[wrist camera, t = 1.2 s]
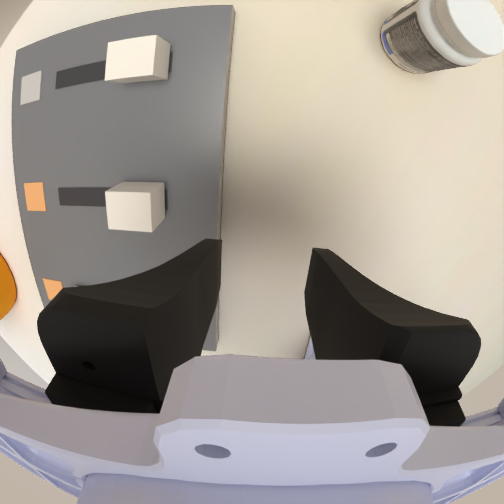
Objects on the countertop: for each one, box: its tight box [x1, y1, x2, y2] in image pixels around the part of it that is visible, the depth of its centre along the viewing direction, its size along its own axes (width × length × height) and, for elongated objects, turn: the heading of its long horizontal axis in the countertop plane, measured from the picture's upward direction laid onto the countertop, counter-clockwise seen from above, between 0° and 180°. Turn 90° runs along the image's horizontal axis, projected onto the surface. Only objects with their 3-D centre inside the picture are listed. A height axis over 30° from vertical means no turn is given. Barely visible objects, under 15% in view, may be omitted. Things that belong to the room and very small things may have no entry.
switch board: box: [12, 5, 235, 351], centre depth 19 cm, size 26×18×2 cm
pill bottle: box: [381, 0, 504, 73], centre depth 10 cm, size 5×5×8 cm
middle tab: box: [105, 182, 165, 232], centre depth 17 cm, size 2×3×2 cm
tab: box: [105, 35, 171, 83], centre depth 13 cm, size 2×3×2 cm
